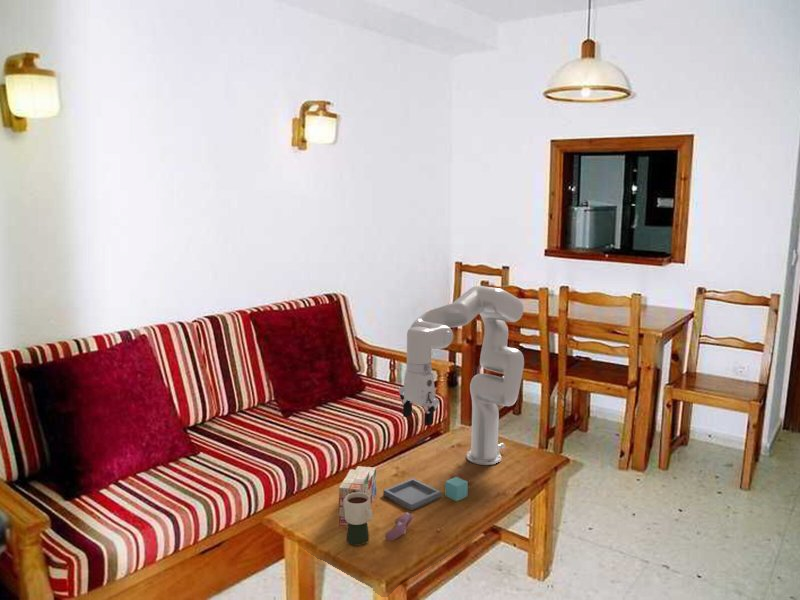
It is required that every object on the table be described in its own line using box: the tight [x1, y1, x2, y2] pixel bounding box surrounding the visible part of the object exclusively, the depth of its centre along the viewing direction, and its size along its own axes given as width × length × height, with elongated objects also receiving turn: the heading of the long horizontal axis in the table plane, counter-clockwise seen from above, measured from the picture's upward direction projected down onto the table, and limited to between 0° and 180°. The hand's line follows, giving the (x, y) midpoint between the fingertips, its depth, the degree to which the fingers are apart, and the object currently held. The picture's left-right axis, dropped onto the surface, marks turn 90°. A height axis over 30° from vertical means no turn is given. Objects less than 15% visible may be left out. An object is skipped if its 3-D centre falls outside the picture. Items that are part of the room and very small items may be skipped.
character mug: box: [343, 492, 373, 546], centre depth 181 cm, size 11×7×13 cm, turn 49°
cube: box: [444, 476, 469, 502], centre depth 208 cm, size 5×5×5 cm
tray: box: [382, 477, 442, 512], centre depth 208 cm, size 13×13×2 cm
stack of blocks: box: [338, 465, 377, 527], centre depth 199 cm, size 21×6×12 cm, turn 169°
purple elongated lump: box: [384, 511, 414, 541], centre depth 185 cm, size 10×5×7 cm, turn 160°
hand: (417, 420), depth 203 cm, fingers open, 9 cm apart
